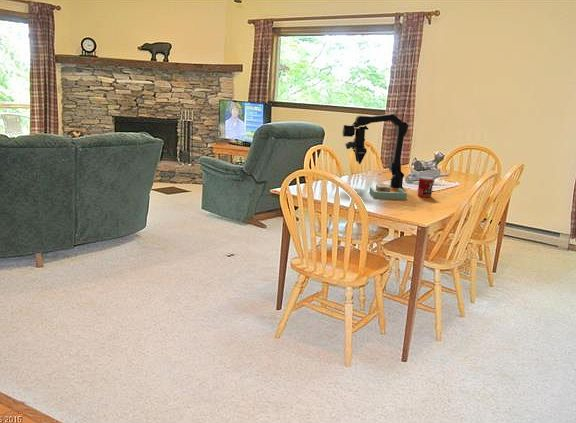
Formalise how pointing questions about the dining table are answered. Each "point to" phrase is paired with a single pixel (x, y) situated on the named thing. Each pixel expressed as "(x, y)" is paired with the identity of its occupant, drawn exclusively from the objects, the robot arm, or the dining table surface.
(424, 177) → the canned food
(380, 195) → the box
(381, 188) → the tan wooden block
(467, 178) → the dining table surface
